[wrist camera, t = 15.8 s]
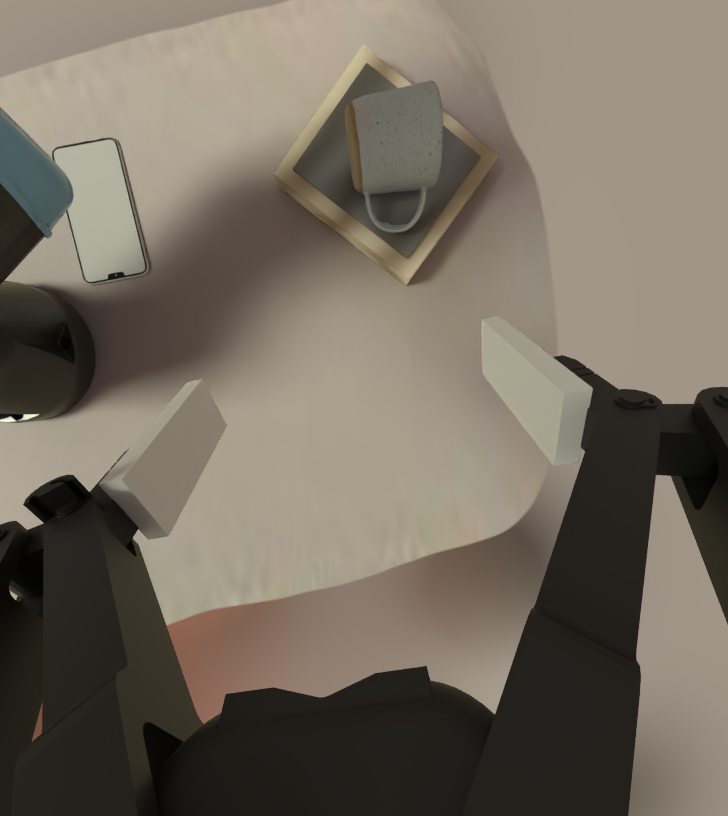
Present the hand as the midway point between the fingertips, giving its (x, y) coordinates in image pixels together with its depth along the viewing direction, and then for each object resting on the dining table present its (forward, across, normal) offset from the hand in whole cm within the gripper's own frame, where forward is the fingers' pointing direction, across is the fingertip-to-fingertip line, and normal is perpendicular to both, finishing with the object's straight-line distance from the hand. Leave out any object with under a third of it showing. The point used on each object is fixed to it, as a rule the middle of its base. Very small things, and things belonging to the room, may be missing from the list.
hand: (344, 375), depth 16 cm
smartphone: (+30, -25, +11) cm, 41 cm away
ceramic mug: (+28, +7, +7) cm, 30 cm away
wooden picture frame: (+31, +6, +8) cm, 33 cm away
